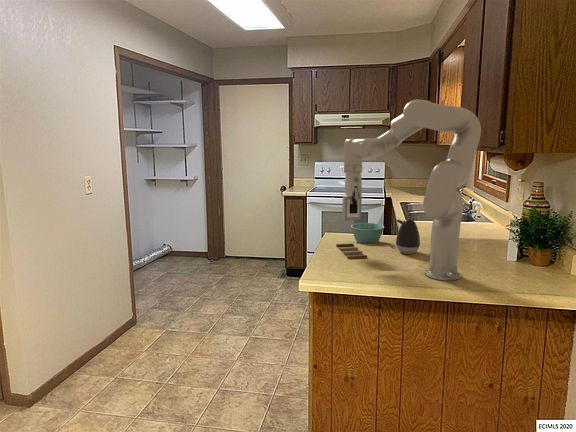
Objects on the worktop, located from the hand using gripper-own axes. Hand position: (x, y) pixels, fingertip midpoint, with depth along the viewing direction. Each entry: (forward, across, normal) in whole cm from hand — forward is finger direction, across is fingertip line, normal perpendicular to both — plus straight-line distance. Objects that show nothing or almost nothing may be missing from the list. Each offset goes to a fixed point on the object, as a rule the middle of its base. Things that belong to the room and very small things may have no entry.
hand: (351, 211), depth 177 cm
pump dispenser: (+19, +1, -26) cm, 32 cm away
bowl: (+19, +21, -14) cm, 32 cm away
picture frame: (+3, 0, 0) cm, 3 cm away
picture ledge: (+19, 0, 0) cm, 19 cm away
